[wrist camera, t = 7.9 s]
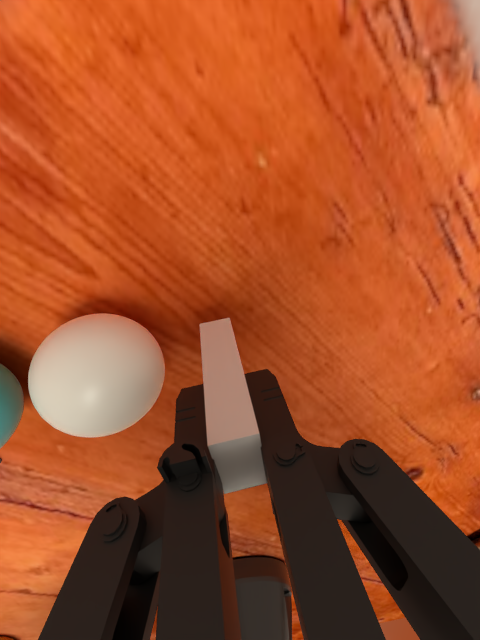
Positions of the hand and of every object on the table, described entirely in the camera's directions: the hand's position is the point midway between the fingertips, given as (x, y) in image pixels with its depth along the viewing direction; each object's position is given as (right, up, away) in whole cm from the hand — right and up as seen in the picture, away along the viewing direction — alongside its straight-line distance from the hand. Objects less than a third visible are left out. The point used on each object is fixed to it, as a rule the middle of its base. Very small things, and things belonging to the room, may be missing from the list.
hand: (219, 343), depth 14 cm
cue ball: (-5, -1, -1) cm, 6 cm away
